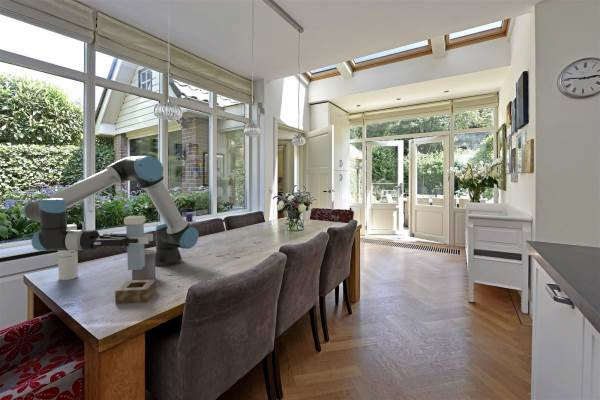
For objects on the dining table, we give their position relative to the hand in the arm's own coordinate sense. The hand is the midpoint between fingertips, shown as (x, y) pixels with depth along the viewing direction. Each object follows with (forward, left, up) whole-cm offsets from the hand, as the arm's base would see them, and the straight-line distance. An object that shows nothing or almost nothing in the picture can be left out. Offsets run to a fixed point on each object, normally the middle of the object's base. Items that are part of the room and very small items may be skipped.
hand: (150, 238), depth 112 cm
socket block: (-3, -4, -24) cm, 25 cm away
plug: (-3, -4, -12) cm, 13 cm away
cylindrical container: (-50, -22, -25) cm, 60 cm away
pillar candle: (-24, +4, -25) cm, 35 cm away
